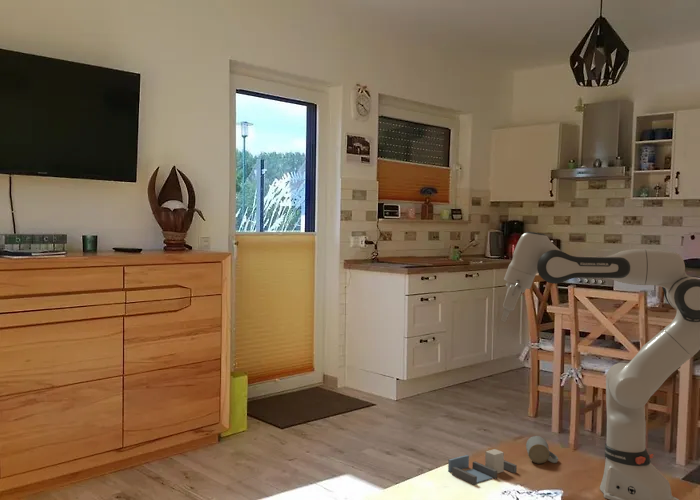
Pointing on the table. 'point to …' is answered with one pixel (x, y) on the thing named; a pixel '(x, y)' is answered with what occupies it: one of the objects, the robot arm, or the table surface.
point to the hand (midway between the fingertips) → (503, 319)
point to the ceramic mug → (539, 450)
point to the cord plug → (495, 460)
